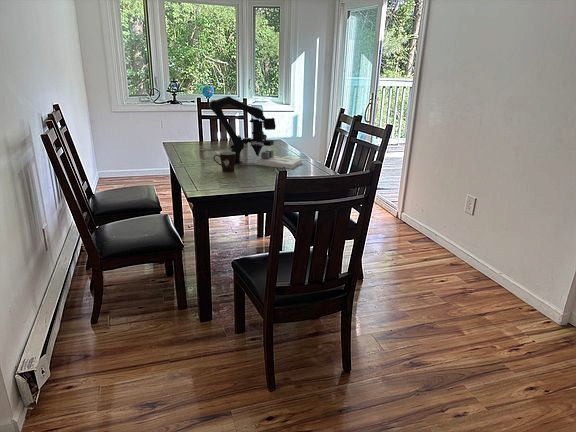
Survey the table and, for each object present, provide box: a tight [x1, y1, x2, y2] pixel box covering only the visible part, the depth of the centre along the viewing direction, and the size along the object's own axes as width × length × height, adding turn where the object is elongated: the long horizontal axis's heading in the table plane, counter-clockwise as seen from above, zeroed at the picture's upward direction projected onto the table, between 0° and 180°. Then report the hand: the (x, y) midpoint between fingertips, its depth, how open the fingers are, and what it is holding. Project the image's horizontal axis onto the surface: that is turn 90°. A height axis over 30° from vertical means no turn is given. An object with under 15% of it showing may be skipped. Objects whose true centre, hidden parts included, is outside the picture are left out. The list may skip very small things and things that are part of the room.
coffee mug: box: [213, 151, 236, 173], centre depth 237 cm, size 12×9×10 cm
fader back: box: [265, 149, 274, 157], centre depth 263 cm, size 3×4×4 cm
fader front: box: [260, 151, 269, 159], centre depth 258 cm, size 3×4×4 cm
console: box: [256, 155, 303, 170], centre depth 257 cm, size 16×22×3 cm
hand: (257, 156), depth 260 cm, fingers closed
